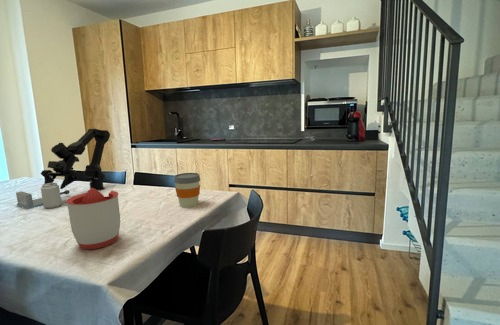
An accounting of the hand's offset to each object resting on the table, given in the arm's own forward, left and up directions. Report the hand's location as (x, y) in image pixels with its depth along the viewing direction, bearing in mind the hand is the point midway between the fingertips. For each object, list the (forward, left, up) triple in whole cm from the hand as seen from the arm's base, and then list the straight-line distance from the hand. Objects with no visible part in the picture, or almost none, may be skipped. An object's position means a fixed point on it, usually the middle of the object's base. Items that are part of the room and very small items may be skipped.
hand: (52, 188), depth 136 cm
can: (+1, +1, -9) cm, 9 cm away
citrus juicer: (-2, +63, -9) cm, 64 cm away
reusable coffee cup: (-46, +53, -9) cm, 71 cm away
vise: (+1, -13, -9) cm, 16 cm away
